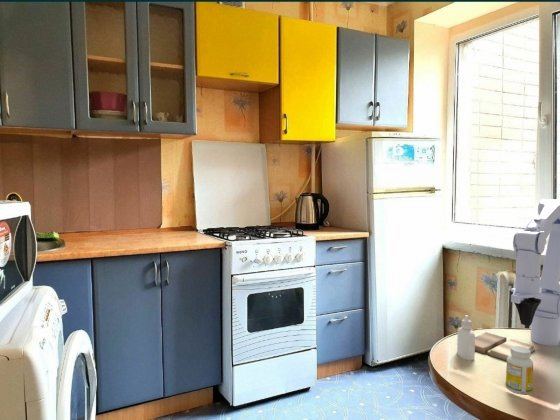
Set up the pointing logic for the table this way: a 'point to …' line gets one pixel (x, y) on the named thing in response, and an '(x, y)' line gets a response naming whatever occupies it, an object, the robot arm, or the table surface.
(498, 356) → the board
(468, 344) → the eye dropper bottle
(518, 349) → the supplement bottle
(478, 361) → the table surface
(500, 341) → the floor section
